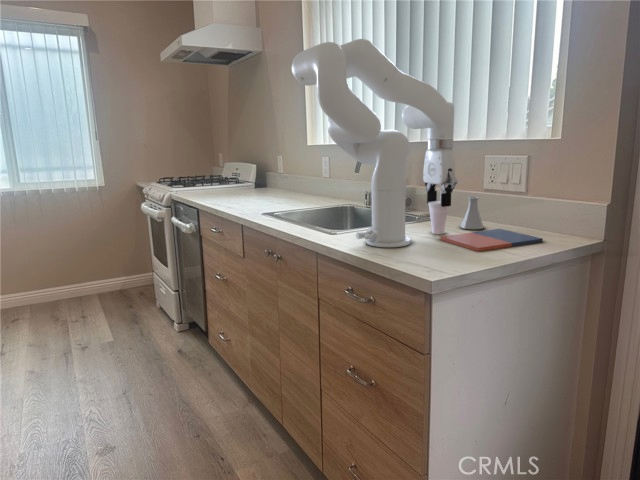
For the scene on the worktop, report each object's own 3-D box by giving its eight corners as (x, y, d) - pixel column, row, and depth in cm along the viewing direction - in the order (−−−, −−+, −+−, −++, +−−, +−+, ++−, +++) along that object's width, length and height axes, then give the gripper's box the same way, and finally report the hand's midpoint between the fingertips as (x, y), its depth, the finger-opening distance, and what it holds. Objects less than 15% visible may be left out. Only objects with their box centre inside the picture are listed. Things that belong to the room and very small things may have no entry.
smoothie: (445, 235, 131) (446, 189, 128) (424, 234, 134) (425, 189, 131) (451, 231, 136) (452, 187, 133) (431, 230, 139) (432, 187, 136)
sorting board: (478, 251, 111) (478, 247, 111) (440, 239, 126) (440, 236, 126) (542, 241, 119) (542, 238, 119) (499, 231, 134) (499, 228, 133)
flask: (485, 230, 137) (487, 198, 134) (461, 230, 138) (462, 199, 136) (481, 225, 144) (483, 196, 141) (459, 225, 145) (460, 196, 143)
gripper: (413, 146, 136) (412, 202, 140) (447, 145, 120) (446, 209, 124) (433, 145, 138) (432, 200, 142) (469, 144, 123) (467, 207, 127)
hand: (438, 204), depth 133 cm, fingers closed on smoothie, 6 cm apart
